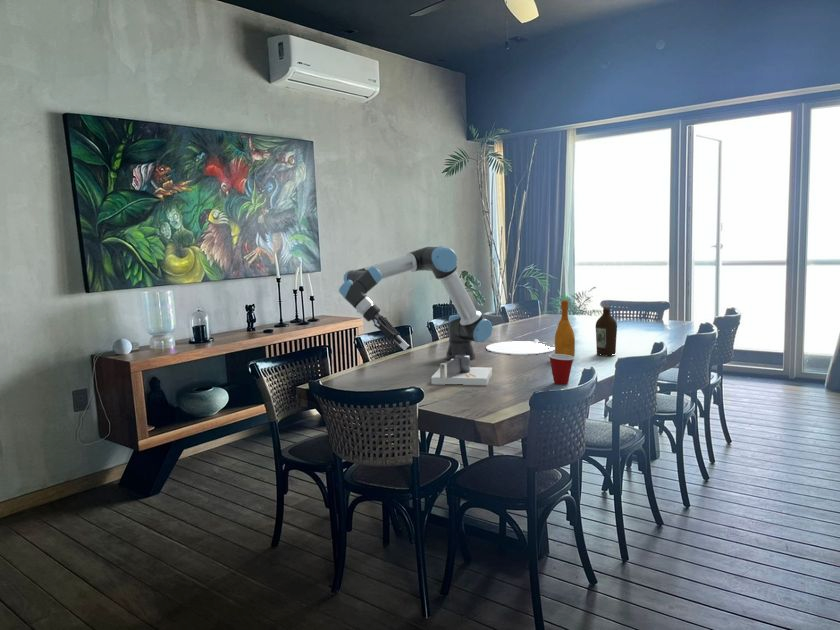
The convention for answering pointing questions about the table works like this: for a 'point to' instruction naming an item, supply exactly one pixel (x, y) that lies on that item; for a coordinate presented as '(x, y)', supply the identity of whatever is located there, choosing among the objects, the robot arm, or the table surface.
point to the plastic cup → (561, 367)
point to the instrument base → (465, 377)
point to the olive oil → (606, 333)
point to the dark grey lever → (455, 366)
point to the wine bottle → (564, 334)
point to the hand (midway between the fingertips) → (406, 348)
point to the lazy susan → (519, 347)
